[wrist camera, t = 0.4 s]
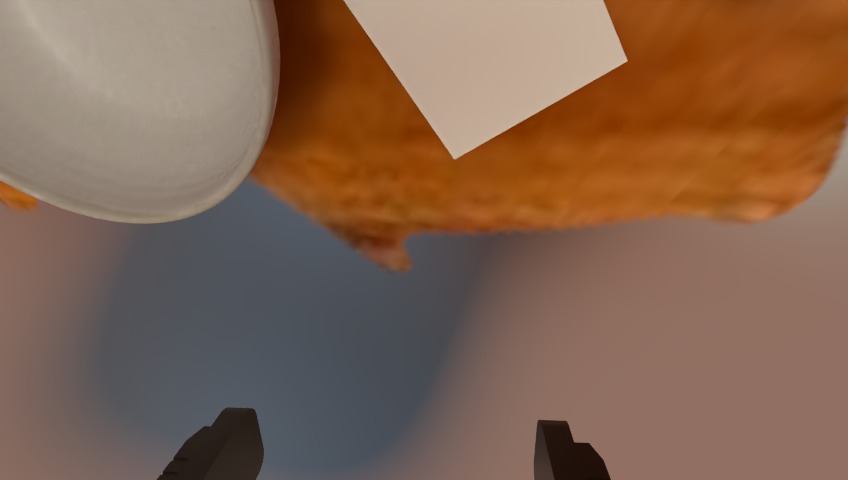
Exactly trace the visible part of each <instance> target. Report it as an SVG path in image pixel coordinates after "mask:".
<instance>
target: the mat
mask: <svg viewBox="0 0 848 480" xmlns="http://www.w3.org/2000/svg"><path fill="white" fill-rule="evenodd" d="M344 2H345V3H346V5H347V6H348V7H349V9H350V10H351V12H352V13H353V15H354V16H355V17H356V19H357V20H358V22H359V23H360V25H361V26H362V28H363V29H364V30H365V32H366V33H367V35H368V36H369V38H370V39H371V40H372V42H373V43H374V45H375V46H376V48H377V49H378V51H379V52H380V53H381V55H382V56H383V58H384V59H385V61H386V62H387V63H388V65H389V66H390V68H391V69H392V71H393V72H394V73H395V75H396V76H397V78H398V79H399V81H400V82H401V84H402V85H403V86H404V88H405V89H406V91H407V92H408V94H409V95H410V96H411V98H412V99H413V101H414V102H415V104H416V105H417V107H418V108H419V109H420V111H421V112H422V114H423V115H424V117H425V118H426V119H427V121H428V122H429V124H430V125H431V127H432V128H433V130H434V131H435V132H436V134H437V135H438V137H439V138H440V140H441V141H442V142H443V144H444V145H445V147H446V148H447V150H448V151H449V152H450V154H451V155H452V157H453V158H454V160H455V159H457V158H458V157H460V156H462V155H464V154H465V153H467V152H469V151H471V150H472V149H474V148H476V147H478V146H479V145H481V144H483V143H485V142H486V141H488V140H490V139H492V138H493V137H495V136H497V135H499V134H500V133H502V132H504V131H506V130H507V129H509V128H511V127H513V126H514V125H516V124H518V123H520V122H521V121H523V120H525V119H527V118H528V117H530V116H532V115H534V114H536V113H537V112H539V111H541V110H543V109H544V108H546V107H548V106H550V105H551V104H553V103H555V102H557V101H558V100H560V99H562V98H564V97H565V96H567V95H569V94H571V93H572V92H574V91H576V90H578V89H579V88H581V87H583V86H585V85H586V84H588V83H590V82H592V81H593V80H595V79H597V78H599V77H600V76H602V75H604V74H606V73H607V72H609V71H611V70H613V69H614V68H616V67H618V66H620V65H622V64H623V63H625V62H627V58H626V56H625V53H624V51H623V48H622V46H621V43H620V41H619V38H618V36H617V34H616V31H615V29H614V26H613V24H612V21H611V19H610V16H609V14H608V11H607V9H606V6H605V4H604V1H603V0H344Z"/></svg>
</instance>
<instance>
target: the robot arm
mask: <svg viewBox="0 0 848 480" xmlns="http://www.w3.org/2000/svg"><path fill="white" fill-rule="evenodd" d="M263 456H264V448H263V443H262V439H261V434H260V429H259V424H258V419H257V415H256V412H255V410H254V409H252V408H225V409H224V410H223V411H222V412H221V413H220V415H219V416H218V418H217V419H216V420H215V422H214V423H213V425H212V426H211V427H209V426H204V427H203V428H202V429H200V430H199V431H198V432H197V433H195V434H194V435H193V436H192V437H190V438H189V439H188V440H187V441H186V442H185V443H184V445H183V446H182V447H181V448H180V450H179V451H178V453H177V454H176V455H175V456H174V460H173V461H171V462H170V463H169V464H168V466H167V467H166V468H165V470H164V471H163V475H160V476H159V478H158V479H157V480H256V478H257V476H258V474H259V472H260V469H261V466H262V462H263ZM534 478H535V480H611V479H610V476H609V474H608V471H607V468H606V466H605V463H604V460H603V459H602V458H601V457H600V456H599V454H598V453H597V452H596V451H595V450H594V448H593V447H592V446H591V445H590V444H589V443H575V442H574V441H573V438H572V435H571V431H570V428H569V425H568V423H567V421H553V420H538V423H537V432H536V443H535V456H534Z"/></svg>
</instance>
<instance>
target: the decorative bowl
mask: <svg viewBox="0 0 848 480" xmlns="http://www.w3.org/2000/svg"><path fill="white" fill-rule="evenodd" d="M279 80H280V42H279V33H278V24H277V18H276V13H275V7H274V2H273V0H0V181H2V182H4V183H6V184H8V185H10V186H12V187H14V188H16V189H18V190H20V191H22V192H24V193H26V194H28V195H30V196H32V197H35V198H37V199H39V200H42V201H44V202H47V203H49V204H52V205H55V206H57V207H60V208H63V209H66V210H69V211H72V212H76V213H78V214H82V215H86V216H90V217H94V218H99V219H104V220H109V221H116V222H124V223H147V224H148V223H162V222H170V221H175V220H180V219H184V218H188V217H191V216H194V215H197V214H199V213H201V212H204V211H206V210H208V209H210V208H212V207H213V206H215V205H217V204H219V203H220V202H221V201H223V200H224V199H226V198H227V197H228V196H229V195H230V194H232V193H233V192H234V191H235V190H236V189H237V188H238V187H239V186H240V184H241V183H242V182H243V181H244V180H245V179H246V177H247V176H248V175H249V173H250V172H251V170H252V169H253V167H254V166H255V164H256V162H257V160H258V158H259V156H260V155H261V152H262V150H263V148H264V145H265V143H266V140H267V138H268V135H269V132H270V128H271V125H272V122H273V118H274V113H275V108H276V103H277V97H278V89H279Z"/></svg>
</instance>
